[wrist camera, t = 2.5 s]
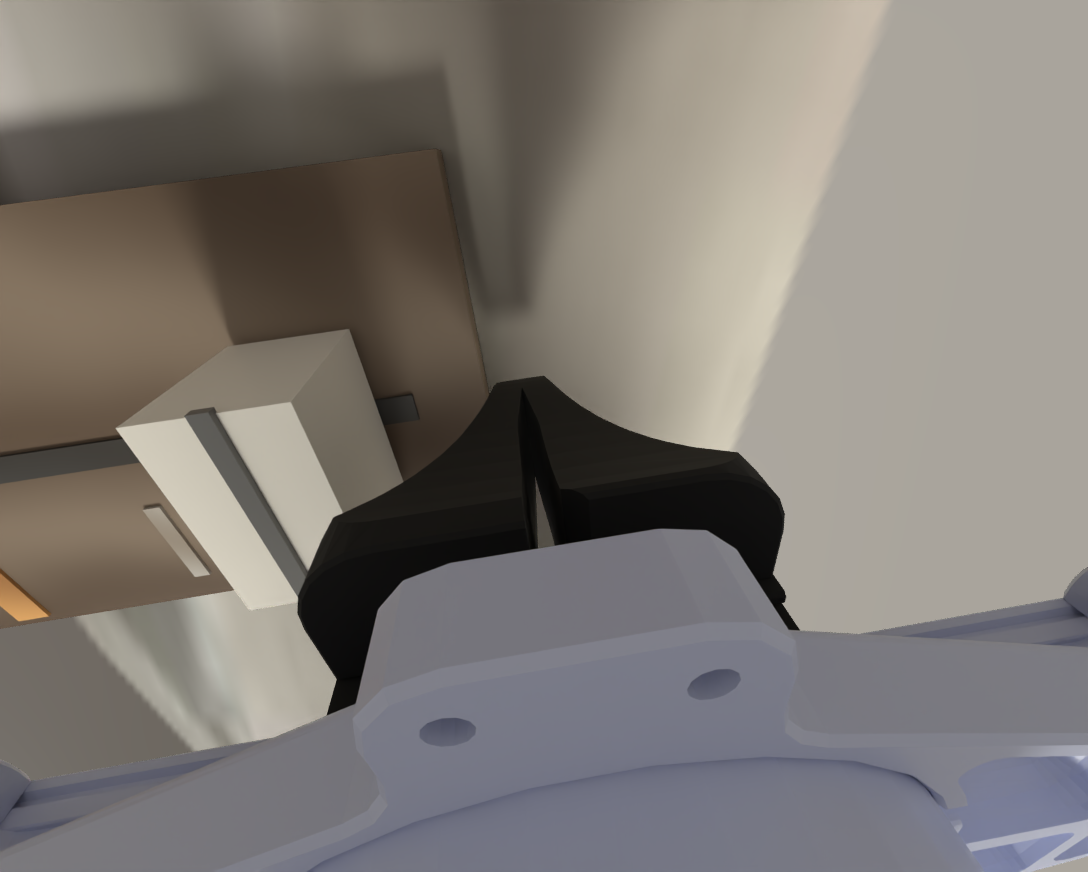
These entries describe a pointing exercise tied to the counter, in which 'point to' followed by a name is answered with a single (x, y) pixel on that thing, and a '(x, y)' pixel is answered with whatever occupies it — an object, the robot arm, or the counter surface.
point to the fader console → (205, 349)
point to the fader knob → (267, 455)
